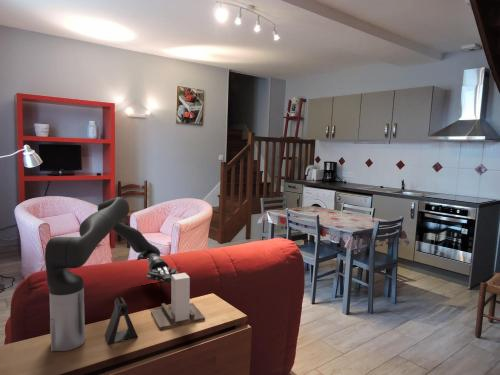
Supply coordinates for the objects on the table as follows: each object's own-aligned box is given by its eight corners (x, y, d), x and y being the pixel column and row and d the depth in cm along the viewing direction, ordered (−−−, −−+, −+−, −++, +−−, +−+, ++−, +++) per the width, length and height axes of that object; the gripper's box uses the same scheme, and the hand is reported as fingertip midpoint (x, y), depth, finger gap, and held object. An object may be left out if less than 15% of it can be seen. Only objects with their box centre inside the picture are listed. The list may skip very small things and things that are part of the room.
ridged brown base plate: (159, 330, 118) (159, 321, 118) (150, 313, 129) (150, 305, 129) (204, 320, 126) (205, 312, 125) (192, 305, 137) (192, 297, 137)
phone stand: (133, 329, 118) (133, 294, 117) (137, 337, 113) (137, 301, 112) (104, 335, 114) (104, 300, 112) (107, 345, 108) (107, 307, 107)
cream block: (175, 321, 121) (175, 279, 119) (171, 315, 125) (171, 274, 124) (189, 318, 123) (189, 277, 122) (184, 312, 128) (185, 272, 126)
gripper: (141, 260, 148) (151, 273, 133) (172, 256, 154) (185, 268, 139) (141, 277, 149) (151, 292, 134) (172, 273, 155) (185, 287, 140)
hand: (168, 280), depth 137 cm, fingers closed
